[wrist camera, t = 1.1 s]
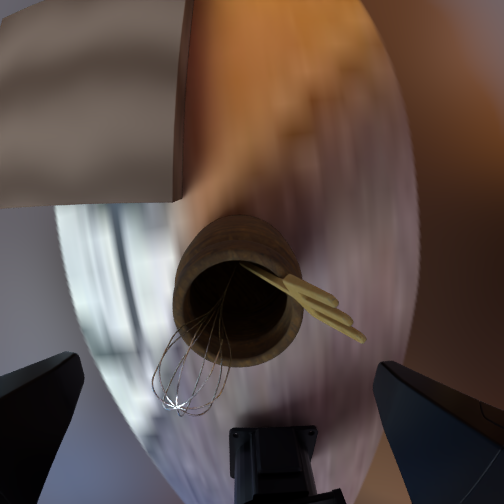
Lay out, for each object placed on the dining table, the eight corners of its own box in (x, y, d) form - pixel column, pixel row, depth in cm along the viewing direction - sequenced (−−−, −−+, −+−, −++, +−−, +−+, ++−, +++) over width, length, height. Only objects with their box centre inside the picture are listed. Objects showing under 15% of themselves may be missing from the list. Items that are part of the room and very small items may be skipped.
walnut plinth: (182, 198, 17) (172, 202, 15) (1, 205, 17) (-21, 210, 15) (195, -13, 14) (190, -33, 12) (20, 28, 14) (2, 18, 11)
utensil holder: (168, 257, 18) (72, 376, 7) (250, 187, 17) (266, 211, 6) (233, 327, 19) (225, 490, 8) (314, 265, 19) (405, 390, 7)
